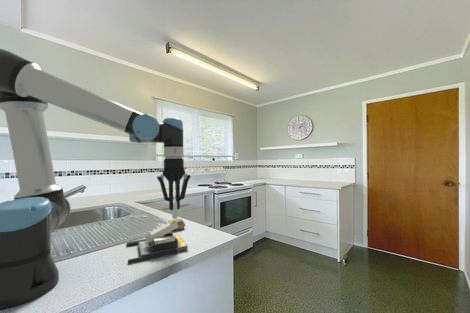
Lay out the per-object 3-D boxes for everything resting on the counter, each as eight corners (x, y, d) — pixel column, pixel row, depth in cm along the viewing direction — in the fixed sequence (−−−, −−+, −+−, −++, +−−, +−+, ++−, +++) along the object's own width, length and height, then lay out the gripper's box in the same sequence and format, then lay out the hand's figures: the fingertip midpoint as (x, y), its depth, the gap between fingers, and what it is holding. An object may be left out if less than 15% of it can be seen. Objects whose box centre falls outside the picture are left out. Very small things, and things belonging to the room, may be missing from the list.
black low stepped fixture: (127, 263, 70) (127, 260, 70) (126, 244, 86) (126, 241, 86) (182, 252, 78) (182, 249, 78) (172, 236, 94) (172, 234, 94)
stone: (167, 232, 100) (167, 223, 100) (166, 226, 110) (165, 217, 110) (185, 230, 103) (185, 221, 103) (182, 224, 113) (182, 215, 113)
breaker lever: (147, 244, 78) (145, 237, 78) (147, 240, 81) (144, 235, 81) (178, 227, 83) (176, 221, 83) (176, 224, 86) (174, 219, 86)
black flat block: (141, 259, 73) (141, 244, 73) (138, 246, 84) (138, 232, 84) (187, 250, 80) (187, 236, 80) (179, 238, 92) (179, 226, 92)
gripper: (157, 158, 78) (158, 222, 78) (192, 157, 84) (193, 217, 84) (155, 158, 85) (155, 217, 85) (187, 157, 91) (188, 213, 91)
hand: (174, 217), depth 84 cm, fingers closed
